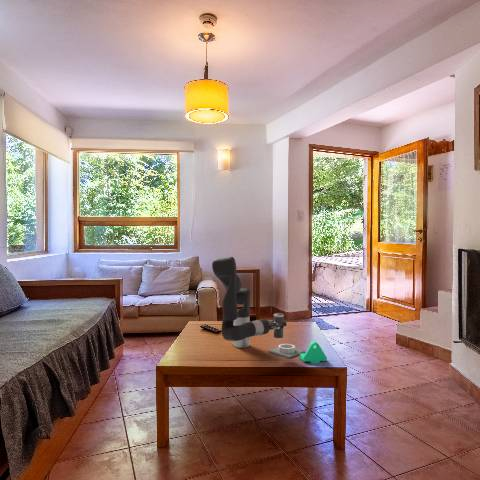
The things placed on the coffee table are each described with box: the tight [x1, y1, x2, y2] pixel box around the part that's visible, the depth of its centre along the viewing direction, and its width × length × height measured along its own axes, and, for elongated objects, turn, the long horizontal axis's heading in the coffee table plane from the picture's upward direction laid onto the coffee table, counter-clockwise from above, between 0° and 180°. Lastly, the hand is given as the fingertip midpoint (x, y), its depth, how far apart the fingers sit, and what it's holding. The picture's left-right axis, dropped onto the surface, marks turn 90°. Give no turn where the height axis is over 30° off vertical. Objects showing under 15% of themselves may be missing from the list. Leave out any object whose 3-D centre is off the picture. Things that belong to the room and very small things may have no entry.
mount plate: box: [268, 343, 306, 359], centre depth 206 cm, size 14×14×4 cm
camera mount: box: [299, 340, 328, 364], centre depth 194 cm, size 12×8×10 cm, turn 97°
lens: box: [273, 312, 284, 339], centre depth 198 cm, size 5×5×12 cm
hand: (282, 322), depth 199 cm, fingers closed on lens, 5 cm apart
